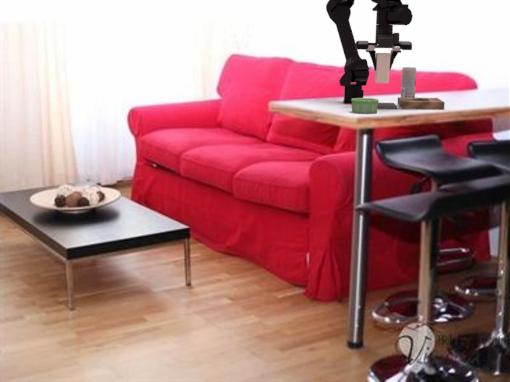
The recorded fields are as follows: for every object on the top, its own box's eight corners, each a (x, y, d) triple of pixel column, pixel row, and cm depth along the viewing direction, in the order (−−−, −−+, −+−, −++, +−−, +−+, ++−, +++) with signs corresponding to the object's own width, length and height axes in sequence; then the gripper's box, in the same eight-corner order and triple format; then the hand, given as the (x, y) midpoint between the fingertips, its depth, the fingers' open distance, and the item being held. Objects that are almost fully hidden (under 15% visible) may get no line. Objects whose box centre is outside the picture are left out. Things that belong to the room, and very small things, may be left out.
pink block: (376, 83, 263) (377, 53, 261) (374, 81, 268) (376, 52, 265) (388, 83, 263) (390, 53, 261) (387, 82, 268) (388, 53, 265)
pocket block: (402, 109, 262) (403, 101, 262) (397, 104, 276) (397, 97, 275) (444, 109, 262) (444, 102, 261) (436, 104, 275) (437, 97, 275)
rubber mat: (367, 108, 263) (367, 105, 263) (365, 105, 273) (365, 102, 272) (397, 109, 262) (397, 106, 262) (393, 105, 272) (393, 102, 272)
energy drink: (414, 98, 294) (415, 67, 292) (415, 100, 289) (417, 68, 286) (399, 98, 295) (401, 67, 292) (401, 100, 290) (402, 68, 287)
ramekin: (375, 111, 258) (376, 97, 257) (380, 114, 249) (381, 100, 248) (348, 110, 257) (349, 97, 256) (352, 114, 249) (353, 100, 248)
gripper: (358, 24, 254) (357, 72, 257) (415, 25, 253) (413, 73, 256) (356, 24, 264) (354, 69, 268) (410, 24, 264) (408, 70, 267)
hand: (382, 70), depth 265 cm, fingers closed on pink block, 4 cm apart
